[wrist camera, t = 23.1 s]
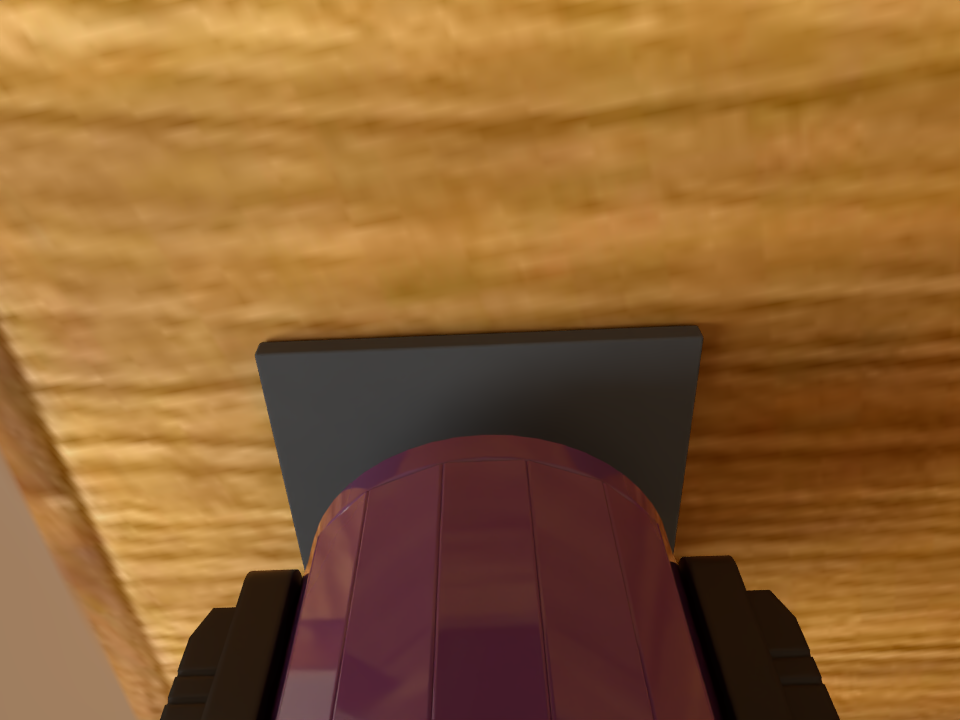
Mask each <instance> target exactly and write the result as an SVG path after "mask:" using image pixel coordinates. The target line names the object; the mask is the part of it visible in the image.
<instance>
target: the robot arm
mask: <svg viewBox="0 0 960 720" xmlns="http://www.w3.org/2000/svg"><path fill="white" fill-rule="evenodd" d="M678 567H679V569H680V572H681V575H682V578H683V582H684V585H685V588H686V592H687V595H688V598H689V602H690V605H691V608H692V612H693V615H694V619H695V622H696V625H697V629H698V632H699V635H700V639H701V642H702V645H703V649H704V652H705V655H706V659H707V662H708V665H709V669H710V672H711V676H712V679H713V682H714V686H715V689H716V692H717V696H718V699H719V702H720V706H721V709H722V712H723V716H724V719H725V720H840V719H839V716H838V714H837V712H836V709H835V707H834V705H833V702H832V700H831V698H830V696H829V693H828V691H827V689H826V686H825V684H823V683H822V680H821V678H822V677H821V675H820V672H819V670H818V668H817V665H816V663H815V661H814V659H813V657H811V656H810V649H809V647H808V645H807V642H806V640H805V638H804V635H803V633H802V631H801V628H800V626H799V624H798V622H797V619H796V617H795V616H794V615H793V614H792V613H791V612H790V611H789V610H788V609H787V608H786V607H785V606H784V605H783V603H782V602H781V601H780V600H779V599H778V598H777V597H776V596H775V595H774V594H773V593H772V592H771V591H770V590H753V591H746V588H745V586H744V583H743V581H742V578H741V575H740V573H739V570H738V567H737V565H736V563H735V561H734V559H733V558H732V557H731V556H729V555H725V556H696V557H682V558H681V559H680V561H679V565H678ZM301 581H302V576H301V573H300V571H299V570H269V571H250V572H249V573H248V574H247V576H246V578H245V580H244V583H243V586H242V589H241V593H240V596H239V599H238V602H237V605H236V607H232V608H213V609H212V611H211V612H210V613H209V614H208V616H207V617H206V618H205V619H204V620H203V622H202V623H201V624H200V625H199V627H198V628H197V629H196V630H195V631H194V633H193V634H192V635H191V636H190V638H189V640H188V643H187V646H186V649H185V652H184V654H183V657H182V660H181V663H180V665H179V668H178V676H177V677H175V679H174V682H173V685H172V688H171V690H170V693H169V696H168V704H167V705H165V707H164V710H163V713H162V715H161V718H160V720H269V716H270V712H271V707H272V703H273V699H274V695H275V690H276V686H277V682H278V678H279V673H280V669H281V665H282V661H283V656H284V652H285V648H286V644H287V639H288V635H289V631H290V626H291V622H292V618H293V614H294V609H295V605H296V601H297V597H298V592H299V588H300V584H301Z"/></svg>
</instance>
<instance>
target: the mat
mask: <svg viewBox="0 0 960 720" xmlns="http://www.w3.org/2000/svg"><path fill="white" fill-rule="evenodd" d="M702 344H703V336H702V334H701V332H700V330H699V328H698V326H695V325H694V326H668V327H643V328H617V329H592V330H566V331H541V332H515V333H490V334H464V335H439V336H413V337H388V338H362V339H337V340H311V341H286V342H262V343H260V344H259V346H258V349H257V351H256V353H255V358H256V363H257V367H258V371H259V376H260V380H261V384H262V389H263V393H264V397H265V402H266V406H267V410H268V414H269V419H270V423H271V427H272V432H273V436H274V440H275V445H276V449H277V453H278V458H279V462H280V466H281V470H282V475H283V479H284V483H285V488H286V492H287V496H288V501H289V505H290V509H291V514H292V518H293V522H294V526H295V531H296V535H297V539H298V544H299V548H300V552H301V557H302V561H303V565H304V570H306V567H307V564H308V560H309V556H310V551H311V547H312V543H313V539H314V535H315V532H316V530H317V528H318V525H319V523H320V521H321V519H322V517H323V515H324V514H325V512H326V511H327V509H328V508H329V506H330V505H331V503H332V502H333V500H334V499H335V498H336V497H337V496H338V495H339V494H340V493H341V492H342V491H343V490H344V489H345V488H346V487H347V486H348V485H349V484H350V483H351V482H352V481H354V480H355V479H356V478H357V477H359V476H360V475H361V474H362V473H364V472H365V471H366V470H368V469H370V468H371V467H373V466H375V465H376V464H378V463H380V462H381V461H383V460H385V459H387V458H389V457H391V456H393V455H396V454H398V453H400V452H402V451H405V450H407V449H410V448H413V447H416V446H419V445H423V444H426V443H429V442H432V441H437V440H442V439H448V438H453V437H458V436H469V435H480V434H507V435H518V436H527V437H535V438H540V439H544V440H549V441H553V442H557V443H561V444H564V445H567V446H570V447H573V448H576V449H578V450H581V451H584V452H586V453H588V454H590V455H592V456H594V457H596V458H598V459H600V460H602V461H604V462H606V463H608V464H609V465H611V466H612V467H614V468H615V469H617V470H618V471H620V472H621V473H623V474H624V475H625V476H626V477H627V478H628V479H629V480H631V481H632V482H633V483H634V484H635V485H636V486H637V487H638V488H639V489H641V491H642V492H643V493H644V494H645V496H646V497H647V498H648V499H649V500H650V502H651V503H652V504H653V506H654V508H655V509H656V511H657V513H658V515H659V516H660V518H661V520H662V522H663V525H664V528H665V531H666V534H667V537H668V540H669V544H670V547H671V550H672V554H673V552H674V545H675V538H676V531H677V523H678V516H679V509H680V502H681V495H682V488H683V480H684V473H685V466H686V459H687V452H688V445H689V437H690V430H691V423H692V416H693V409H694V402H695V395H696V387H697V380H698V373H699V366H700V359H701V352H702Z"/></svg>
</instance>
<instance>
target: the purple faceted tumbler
mask: <svg viewBox="0 0 960 720" xmlns="http://www.w3.org/2000/svg"><path fill="white" fill-rule="evenodd" d="M269 720H725V719H724V716H723V712H722V709H721V706H720V702H719V699H718V696H717V692H716V689H715V686H714V682H713V679H712V676H711V672H710V669H709V665H708V662H707V659H706V655H705V652H704V649H703V645H702V642H701V639H700V635H699V632H698V629H697V625H696V622H695V619H694V615H693V612H692V608H691V605H690V602H689V598H688V595H687V592H686V588H685V585H684V582H683V578H682V575H681V572H680V569H679V567H678V565H677V562H676V560H675V558H674V556H673V554H672V550H671V547H670V544H669V540H668V537H667V534H666V531H665V528H664V525H663V522H662V520H661V518H660V516H659V515H658V513H657V511H656V509H655V508H654V506H653V504H652V503H651V502H650V500H649V499H648V498H647V497H646V496H645V494H644V493H643V492H642V491H641V489H639V488H638V487H637V486H636V485H635V484H634V483H633V482H632V481H631V480H629V479H628V478H627V477H626V476H625V475H624V474H623V473H621V472H620V471H618V470H617V469H615V468H614V467H612V466H611V465H609V464H608V463H606V462H604V461H602V460H600V459H598V458H596V457H594V456H592V455H590V454H588V453H586V452H584V451H581V450H578V449H576V448H573V447H570V446H567V445H564V444H561V443H557V442H553V441H549V440H544V439H540V438H535V437H527V436H518V435H507V434H480V435H469V436H458V437H453V438H448V439H442V440H437V441H432V442H429V443H426V444H423V445H419V446H416V447H413V448H410V449H407V450H405V451H402V452H400V453H398V454H396V455H393V456H391V457H389V458H387V459H385V460H383V461H381V462H380V463H378V464H376V465H375V466H373V467H371V468H370V469H368V470H366V471H365V472H364V473H362V474H361V475H360V476H359V477H357V478H356V479H355V480H354V481H352V482H351V483H350V484H349V485H348V486H347V487H346V488H345V489H344V490H343V491H342V492H341V493H340V494H339V495H338V496H337V497H336V498H335V499H334V500H333V502H332V503H331V505H330V506H329V508H328V509H327V511H326V512H325V514H324V515H323V517H322V519H321V521H320V523H319V525H318V528H317V530H316V532H315V535H314V539H313V543H312V547H311V551H310V556H309V560H308V564H307V567H306V570H305V573H304V575H303V578H302V581H301V584H300V588H299V592H298V597H297V601H296V605H295V609H294V614H293V618H292V622H291V626H290V631H289V635H288V639H287V644H286V648H285V652H284V656H283V661H282V665H281V669H280V673H279V678H278V682H277V686H276V690H275V695H274V699H273V703H272V707H271V712H270V716H269Z"/></svg>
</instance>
